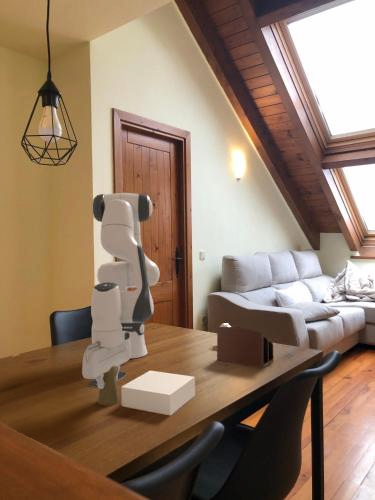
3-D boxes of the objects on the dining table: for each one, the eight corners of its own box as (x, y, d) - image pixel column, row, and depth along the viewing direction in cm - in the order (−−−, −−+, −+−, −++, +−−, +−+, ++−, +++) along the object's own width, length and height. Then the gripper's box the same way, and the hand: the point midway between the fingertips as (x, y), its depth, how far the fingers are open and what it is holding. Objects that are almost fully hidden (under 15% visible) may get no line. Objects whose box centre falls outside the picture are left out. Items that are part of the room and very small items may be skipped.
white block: (121, 407, 119) (121, 386, 119) (150, 388, 134) (149, 370, 133) (170, 416, 112) (170, 394, 112) (195, 396, 127) (194, 376, 126)
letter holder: (263, 368, 151) (262, 330, 151) (216, 360, 163) (216, 325, 162) (273, 361, 159) (273, 325, 159) (229, 354, 171) (228, 320, 170)
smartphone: (85, 384, 136) (109, 370, 150) (85, 387, 136) (109, 372, 150) (105, 386, 134) (128, 372, 148) (105, 389, 134) (128, 374, 148)
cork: (114, 406, 119) (113, 368, 119) (94, 404, 121) (93, 367, 120) (121, 398, 125) (120, 362, 125) (103, 396, 126) (102, 361, 126)
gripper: (94, 347, 112) (96, 398, 112) (133, 331, 130) (134, 374, 131) (76, 345, 114) (77, 395, 114) (116, 330, 133) (117, 372, 133)
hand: (108, 384), depth 123 cm, fingers open, 5 cm apart
